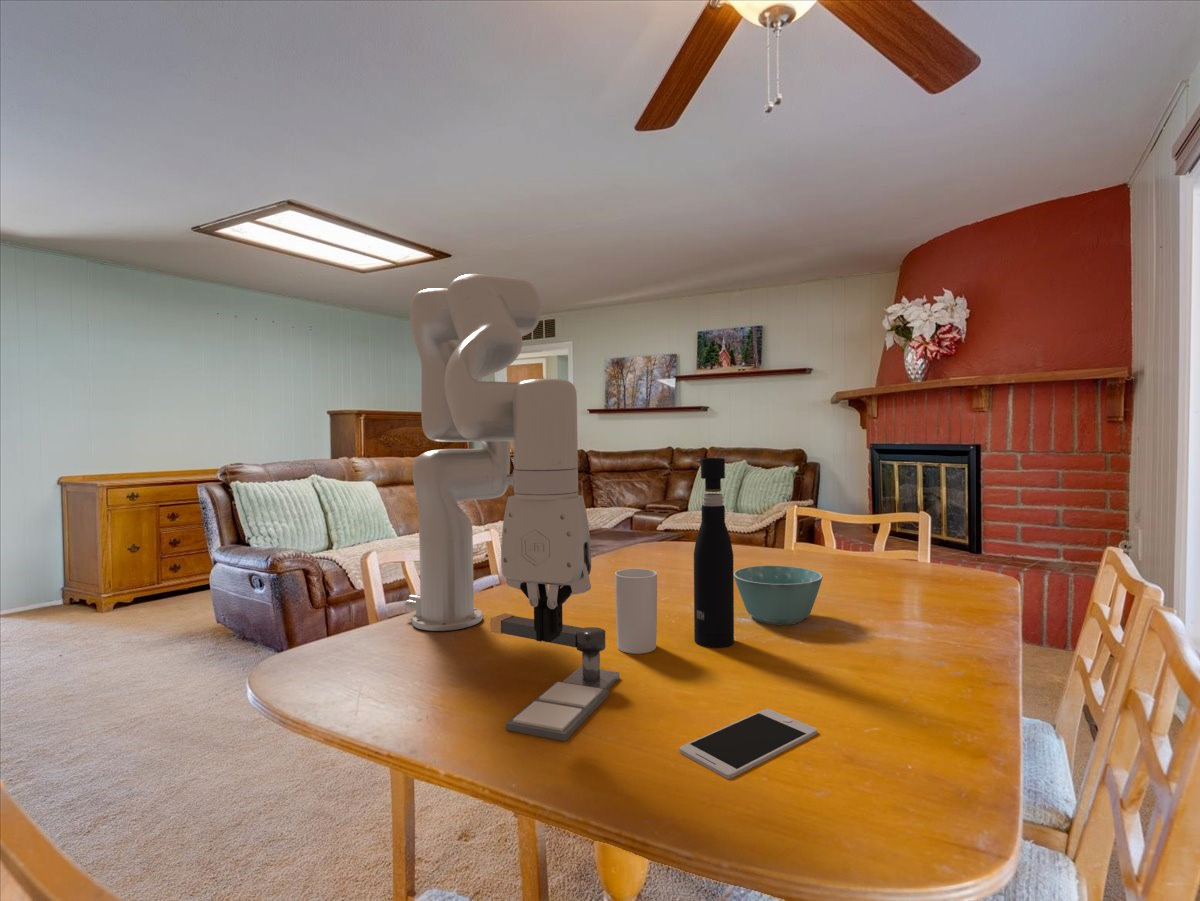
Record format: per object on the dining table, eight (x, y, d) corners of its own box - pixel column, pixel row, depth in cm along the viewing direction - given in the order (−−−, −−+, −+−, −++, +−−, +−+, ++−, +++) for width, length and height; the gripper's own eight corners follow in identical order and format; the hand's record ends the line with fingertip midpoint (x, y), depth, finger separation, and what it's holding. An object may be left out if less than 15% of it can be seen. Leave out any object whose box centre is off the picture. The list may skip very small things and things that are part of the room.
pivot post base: (562, 687, 86) (561, 654, 86) (580, 672, 92) (580, 641, 91) (603, 694, 84) (602, 660, 84) (619, 677, 89) (619, 646, 89)
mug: (665, 651, 100) (664, 575, 99) (625, 657, 97) (624, 579, 97) (638, 632, 109) (637, 563, 109) (602, 637, 107) (601, 566, 106)
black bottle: (736, 637, 106) (735, 457, 105) (731, 649, 100) (730, 459, 99) (698, 633, 108) (696, 457, 108) (690, 645, 102) (689, 459, 101)
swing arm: (610, 645, 88) (610, 629, 88) (595, 654, 85) (595, 638, 85) (506, 626, 98) (505, 612, 98) (488, 633, 94) (488, 618, 94)
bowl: (726, 626, 113) (726, 579, 112) (741, 603, 127) (741, 562, 127) (820, 635, 107) (820, 586, 106) (824, 610, 121) (824, 567, 121)
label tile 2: (532, 707, 80) (532, 698, 80) (556, 687, 86) (556, 679, 86) (588, 717, 77) (588, 708, 77) (608, 695, 83) (608, 687, 83)
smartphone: (819, 736, 72) (819, 728, 72) (728, 784, 63) (728, 774, 63) (767, 714, 78) (767, 707, 78) (677, 755, 69) (677, 746, 69)
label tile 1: (506, 730, 74) (505, 720, 74) (533, 707, 80) (533, 698, 80) (565, 741, 71) (564, 731, 71) (588, 716, 77) (588, 707, 77)
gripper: (474, 485, 75) (477, 641, 75) (591, 488, 69) (593, 656, 69) (507, 480, 82) (510, 623, 82) (616, 483, 76) (618, 636, 76)
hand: (548, 638), depth 76 cm, fingers closed
